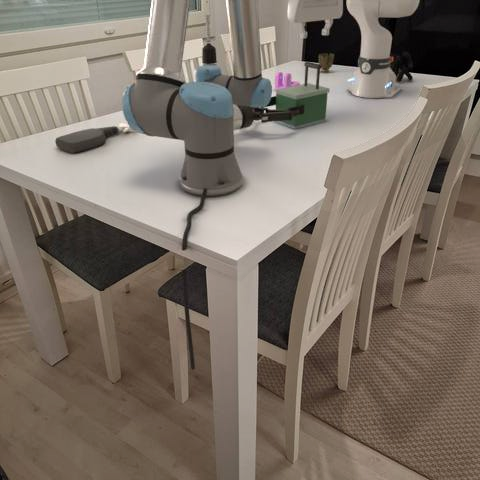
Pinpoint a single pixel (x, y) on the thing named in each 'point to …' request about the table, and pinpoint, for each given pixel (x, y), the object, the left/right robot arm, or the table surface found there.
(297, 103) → the chest
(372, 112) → the table surface
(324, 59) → the cup
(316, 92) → the lid
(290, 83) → the bracket
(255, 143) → the table surface
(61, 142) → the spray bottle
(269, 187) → the table surface
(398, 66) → the squiggle
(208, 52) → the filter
